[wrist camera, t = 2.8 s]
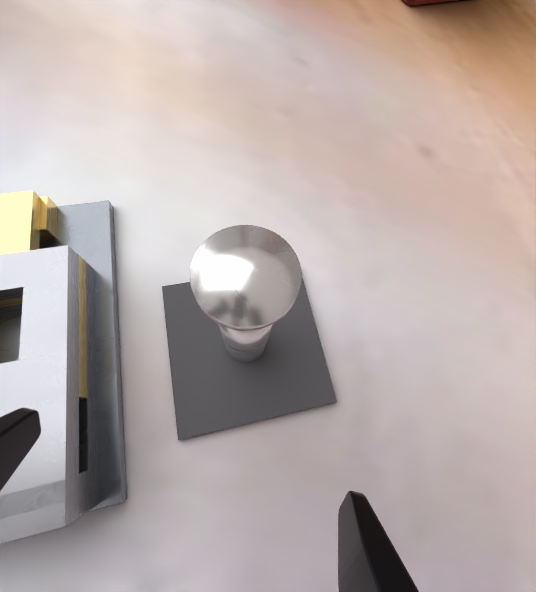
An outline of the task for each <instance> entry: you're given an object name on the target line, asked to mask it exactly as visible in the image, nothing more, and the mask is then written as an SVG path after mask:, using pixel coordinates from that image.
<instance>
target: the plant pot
mask: <svg viewBox="0 0 536 592" xmlns="http://www.w3.org/2000/svg"><path fill="white" fill-rule="evenodd" d="M404 1H405V2H406V3H408V4H410V5H419V4H429V3H439V2H448V1H458V0H404Z"/></svg>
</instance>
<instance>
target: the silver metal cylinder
mask: <svg viewBox="0 0 536 592" xmlns="http://www.w3.org/2000/svg"><path fill="white" fill-rule="evenodd" d="M301 275H302V274H301V267H300V263H299V260H298V257H297V255H296V253H295V252H294V250H293V249H292V247H291V246H290V245H289V244H288V243H287V242H286V241H285V240H284V239H283V238H282V237H281V236H279V235H278V234H276V233H274V232H272V231H270V230H268V229H265V228H262V227H258V226H252V225H239V226H232V227H228V228H225V229H222V230H220V231H218V232H216V233H214V234H213V235H211V236H210V237H209V238H208V239H206V240H205V241H204V242H203V243H202V244H201V246H200V247H199V248H198V250H197V251H196V253H195V255H194V257H193V260H192V263H191V267H190V284H191V288H192V291H193V294H194V296H195V298H196V300H197V303H198V304H199V306H200V308H201V309H202V310H203V311H204V313H205V314H206V315H207V316H208V317H209V318H210V319H212V320H213V321H215V322H216V323H218V325H219V328H220V331H221V334H222V337H223V340H224V344H225V347H226V350H227V352H228V353H229V355H230V356H231V357H232V358H234V359H235V360H237V361H240V362H250V361H253V360H255V359H257V358H258V357H259V356H260V355H261V354H262V353H263V351H264V349H265V346H266V343H267V340H268V337H269V334H270V331H271V328H272V325H273V324H274V323H275V322H277V321H279V320H280V319H281V318H282V317H284V316H285V314H286V313H287V312H288V311H289V310H290V308H291V307H292V305H293V303H294V301H295V299H296V297H297V295H298V293H299V290H300V286H301Z"/></svg>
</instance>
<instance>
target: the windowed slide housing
mask: <svg viewBox="0 0 536 592" xmlns="http://www.w3.org/2000/svg"><path fill="white" fill-rule="evenodd" d="M19 408H29V409H33V410H36V411H38V413H39V417H40V424H41V434H40V436H39V438H38V440H37V441H36V443H35V444H34V446H33V447H32V448H31V450H30V451H29V453H28V454H27V455H26V457H25V458H24V459H23V461H22V462H21V464H20V465H19V466H18V468H17V469H16V471H15V472H14V473H13V475H12V476H11V478H10V479H9V480H8V482H7V483H6V484H5V486H4V487H3V489H2V490H1V491H0V544H2V543H6V542H10V541H13V540H17V539H21V538H25V537H28V536H32V535H36V534H40V533H43V532H47V531H51V530H54V529H58V528H62V527H65V526H67V525H68V524H70V523H71V522H73V521H74V520H76V519H77V518H79V517H80V516H82V515H83V514H85V513H86V512H88V511H92V510H95V509H99V508H103V507H107V506H111V505H114V504H118V503H122V502H123V501H124V500H126V499H127V490H126V470H125V449H124V428H123V408H122V387H121V367H120V346H119V326H118V305H117V285H116V264H115V244H114V223H113V206H112V205H111V203H110V202H109V201H101V202H93V203H84V204H76V205H68V206H59V207H57V206H56V205H55V204H54V203H53V202H52V201H51V199H50V198H49V197H48V196H44V197H39V196H38V195H37V194H36V193H35V192H34V191H25V192H16V193H7V194H0V417H1V416H3V415H6V414H8V413H10V412H12V411H15V410H17V409H19Z"/></svg>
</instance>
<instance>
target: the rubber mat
mask: <svg viewBox="0 0 536 592" xmlns="http://www.w3.org/2000/svg"><path fill="white" fill-rule="evenodd" d="M162 290H163V299H164V309H165V319H166V328H167V338H168V347H169V357H170V366H171V376H172V385H173V395H174V405H175V414H176V424H177V433H178V440H181V439H185V438H189V437H193V436H198V435H202V434H206V433H210V432H214V431H218V430H222V429H227V428H231V427H235V426H239V425H243V424H247V423H252V422H256V421H260V420H264V419H268V418H272V417H276V416H281V415H285V414H289V413H293V412H297V411H301V410H306V409H310V408H314V407H318V406H322V405H326V404H330V403H335V402H337V400H336V397H335V393H334V390H333V386H332V382H331V379H330V375H329V372H328V368H327V365H326V361H325V357H324V354H323V350H322V347H321V343H320V340H319V336H318V332H317V329H316V325H315V322H314V318H313V315H312V311H311V307H310V304H309V300H308V297H307V293H306V289H305V286H304V282H303V279H302V275H301V286H300V290H299V293H298V295H297V297H296V299H295V301H294V303H293V305H292V307H291V308H290V310H289V311H288V312H287V313H286V314H285V316H284V317H282V318H281V319H280V320H279V321H277V322H275V323H274V324H273V325H272V328H271V331H270V334H269V337H268V340H267V343H266V346H265V349H264V351H263V353H262V354H261V355H260V356H259V357H258V358H257V359H255V360H253V361H250V362H240V361H237V360H235V359H234V358H232V357H231V356H230V355H229V353H228V352H227V350H226V347H225V344H224V340H223V337H222V334H221V331H220V328H219V325H218V323H216V322H215V321H213V320H212V319H210V318H209V317H208V316H207V315H206V314H205V313H204V311H203V310H202V309H201V308H200V306H199V304H198V303H197V300H196V298H195V296H194V294H193V291H192V288H191V284H190V282H187V283H181V284H175V285H169V286H163V287H162Z"/></svg>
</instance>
